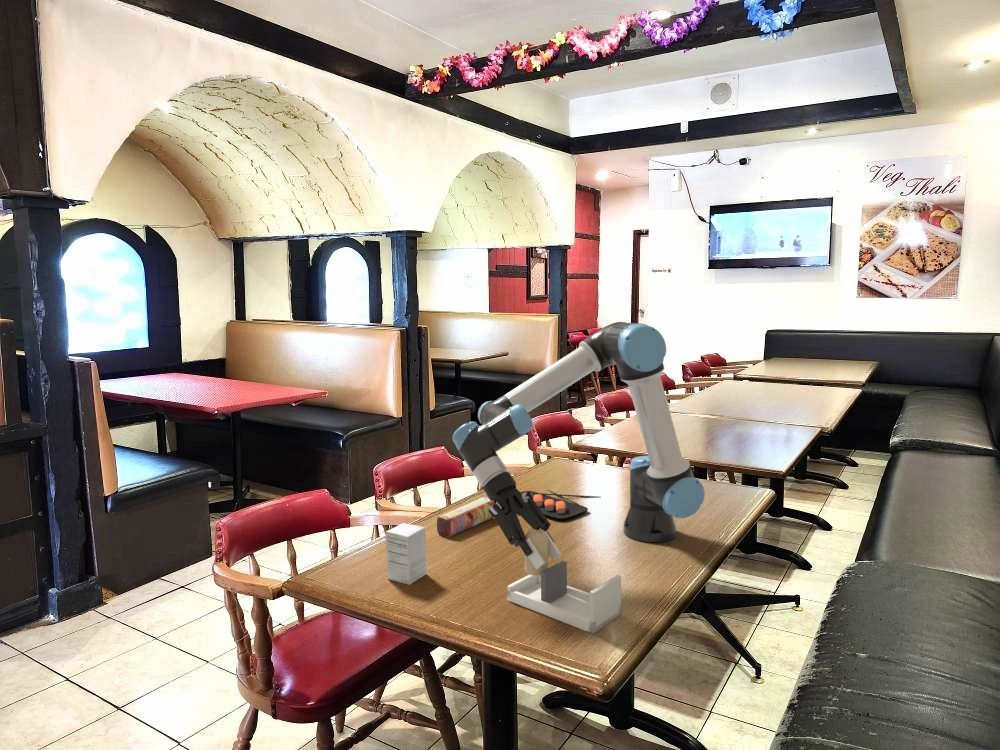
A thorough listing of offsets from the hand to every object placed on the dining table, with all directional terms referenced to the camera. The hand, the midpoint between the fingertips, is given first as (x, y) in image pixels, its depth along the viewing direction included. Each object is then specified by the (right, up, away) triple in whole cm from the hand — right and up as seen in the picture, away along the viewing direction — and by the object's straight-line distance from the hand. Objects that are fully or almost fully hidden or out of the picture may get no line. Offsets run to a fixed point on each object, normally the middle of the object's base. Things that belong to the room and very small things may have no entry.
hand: (549, 561), depth 156 cm
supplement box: (-35, -9, +17) cm, 40 cm away
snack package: (-21, -4, +52) cm, 57 cm away
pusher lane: (+3, -10, -1) cm, 11 cm away
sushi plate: (+9, -1, +75) cm, 75 cm away
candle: (-3, -3, +3) cm, 5 cm away
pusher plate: (+1, -9, +1) cm, 9 cm away
